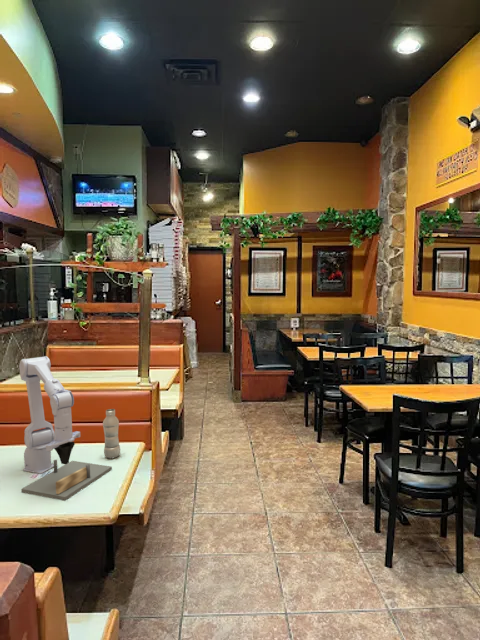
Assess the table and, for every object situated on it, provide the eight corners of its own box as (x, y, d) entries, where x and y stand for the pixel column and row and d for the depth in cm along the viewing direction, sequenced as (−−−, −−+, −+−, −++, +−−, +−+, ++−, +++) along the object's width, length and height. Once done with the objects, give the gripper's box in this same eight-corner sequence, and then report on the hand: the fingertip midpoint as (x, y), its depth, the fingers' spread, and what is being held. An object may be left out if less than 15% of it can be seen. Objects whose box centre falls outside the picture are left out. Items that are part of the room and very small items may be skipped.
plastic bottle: (124, 455, 176) (122, 409, 175) (111, 461, 171) (109, 413, 169) (113, 452, 180) (111, 407, 178) (100, 458, 174) (98, 411, 172)
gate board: (21, 492, 146) (20, 476, 145) (72, 463, 169) (71, 449, 169) (65, 500, 139) (64, 483, 139) (111, 469, 163) (111, 455, 162)
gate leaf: (58, 494, 141) (57, 482, 140) (56, 493, 141) (55, 482, 141) (86, 478, 152) (86, 467, 152) (84, 477, 153) (84, 467, 152)
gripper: (56, 434, 140) (58, 473, 141) (86, 420, 153) (88, 456, 154) (40, 431, 142) (42, 470, 143) (71, 418, 156) (72, 454, 157)
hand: (64, 463), depth 149 cm, fingers closed
